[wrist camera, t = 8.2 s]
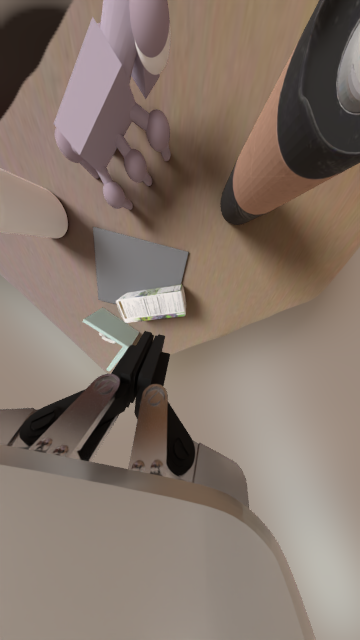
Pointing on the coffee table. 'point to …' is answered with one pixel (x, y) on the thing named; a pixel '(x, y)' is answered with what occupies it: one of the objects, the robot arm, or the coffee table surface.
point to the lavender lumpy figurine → (116, 92)
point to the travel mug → (303, 118)
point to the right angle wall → (112, 331)
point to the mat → (134, 265)
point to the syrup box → (152, 304)
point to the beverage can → (29, 209)
